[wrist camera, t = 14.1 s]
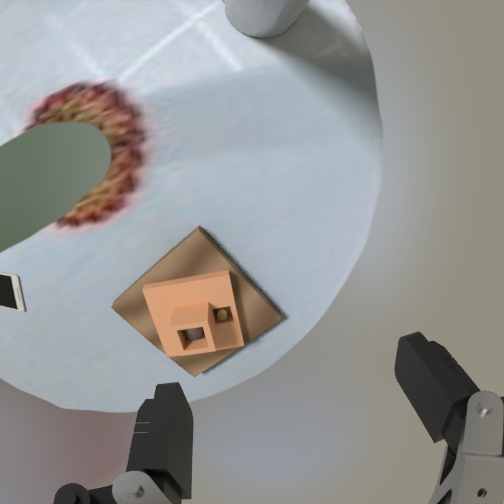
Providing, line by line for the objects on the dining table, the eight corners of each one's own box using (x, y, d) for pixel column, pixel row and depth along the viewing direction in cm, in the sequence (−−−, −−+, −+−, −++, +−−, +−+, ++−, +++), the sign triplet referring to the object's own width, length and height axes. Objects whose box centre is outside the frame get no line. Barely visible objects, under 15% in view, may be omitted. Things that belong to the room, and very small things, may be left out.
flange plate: (168, 350, 47) (163, 376, 41) (144, 284, 42) (134, 306, 37) (243, 339, 47) (246, 365, 42) (228, 269, 43) (230, 291, 37)
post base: (114, 300, 45) (102, 324, 39) (199, 225, 42) (195, 242, 36) (195, 369, 51) (193, 396, 45) (279, 311, 48) (287, 336, 42)
